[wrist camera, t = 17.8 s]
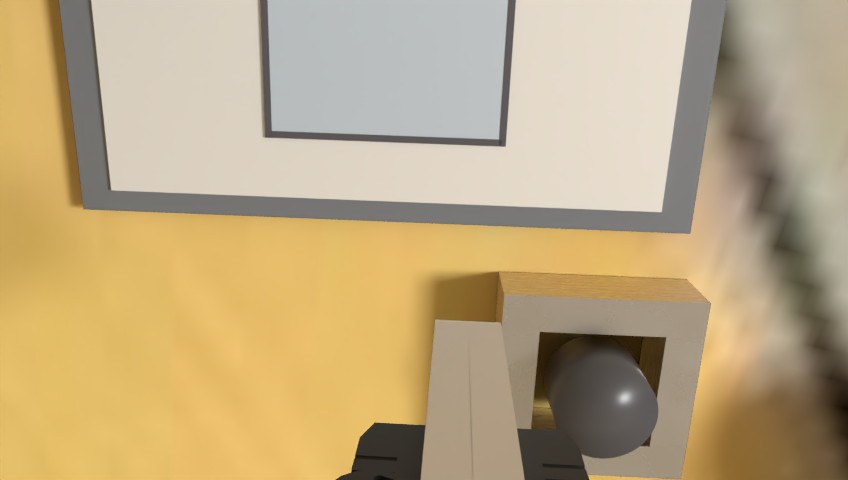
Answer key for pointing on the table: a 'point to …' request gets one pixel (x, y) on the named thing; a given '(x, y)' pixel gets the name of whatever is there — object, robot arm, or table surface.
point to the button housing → (611, 315)
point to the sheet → (396, 109)
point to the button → (600, 397)
